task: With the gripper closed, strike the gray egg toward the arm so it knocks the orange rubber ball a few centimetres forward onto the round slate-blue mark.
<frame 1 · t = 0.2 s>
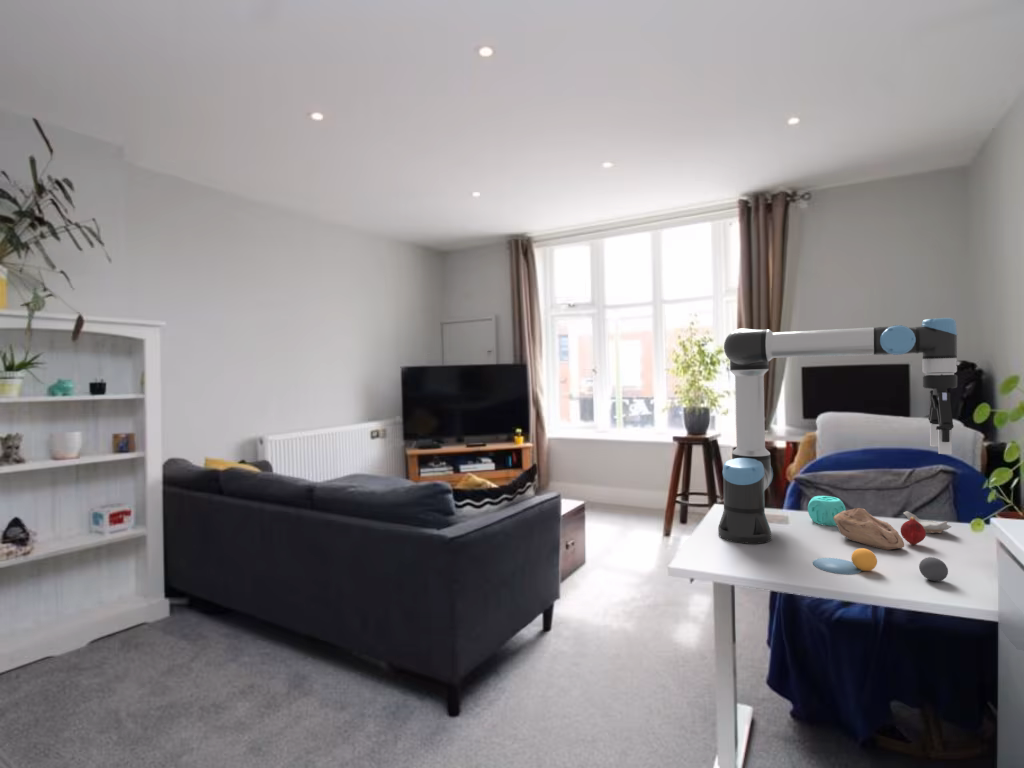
hand: (940, 450, 150), 28 cm above the table, fingers open, 13 cm apart
object ball: (864, 559, 137), on the table
rock: (868, 543, 158), on the table
gray egg: (933, 569, 130), on the table
decorative dice: (826, 523, 178), on the table
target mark: (836, 566, 141), on the table
onion: (913, 545, 154), on the table
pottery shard: (928, 531, 166), on the table
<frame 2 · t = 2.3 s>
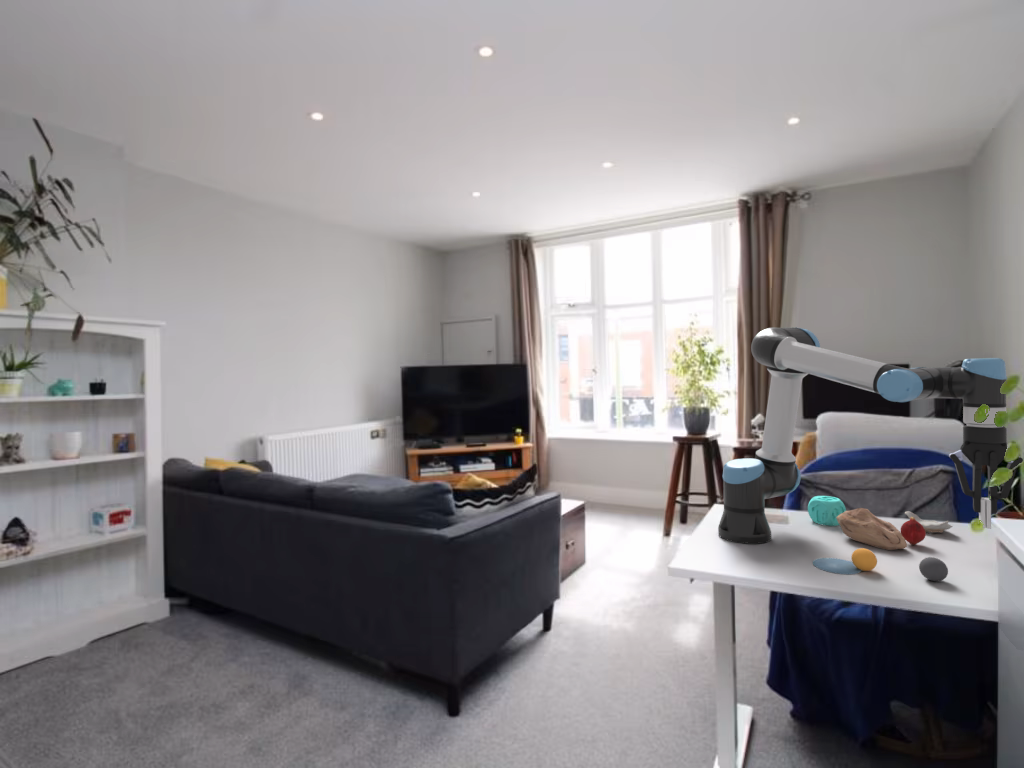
hand: (984, 526, 124), 14 cm above the table, fingers closed
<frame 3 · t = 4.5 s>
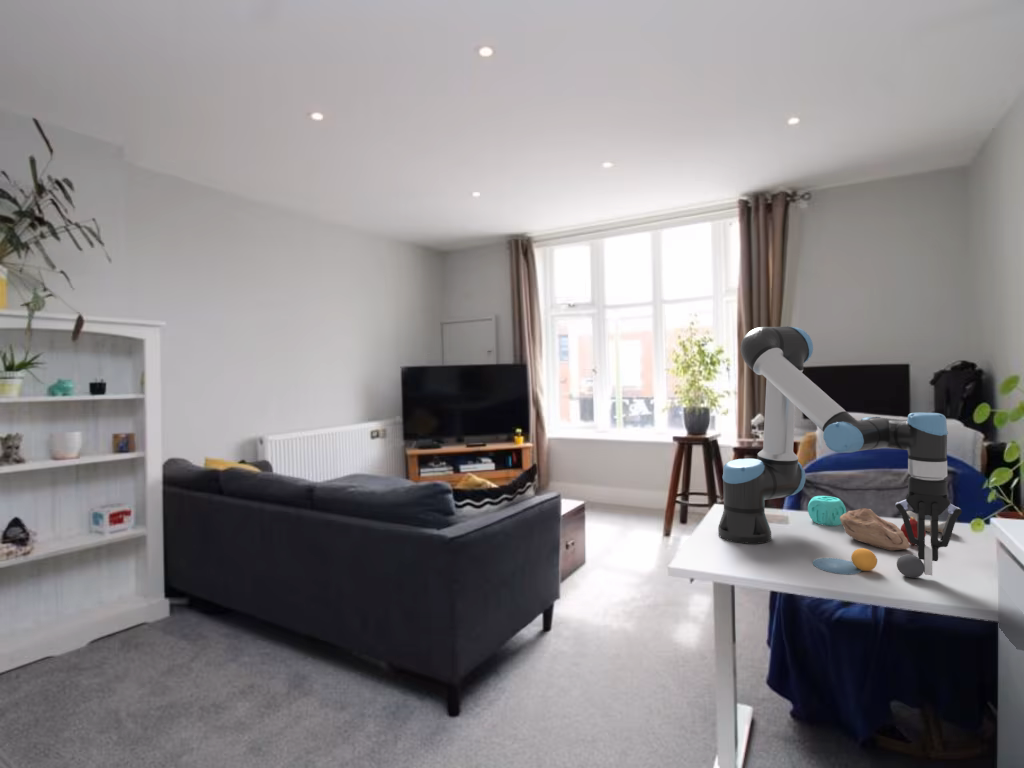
hand: (927, 572, 131), 1 cm above the table, fingers closed
gray egg: (910, 566, 132), on the table
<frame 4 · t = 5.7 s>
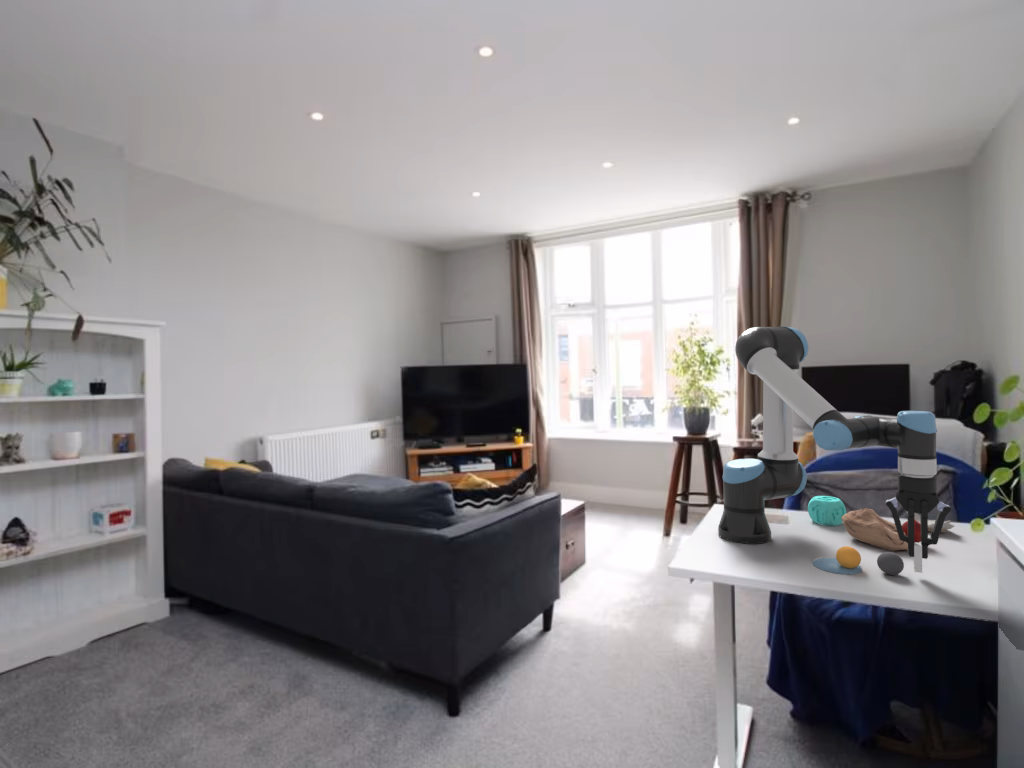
hand: (917, 570, 131), 2 cm above the table, fingers closed
object ball: (848, 557, 139), on the table
gray egg: (890, 563, 134), on the table
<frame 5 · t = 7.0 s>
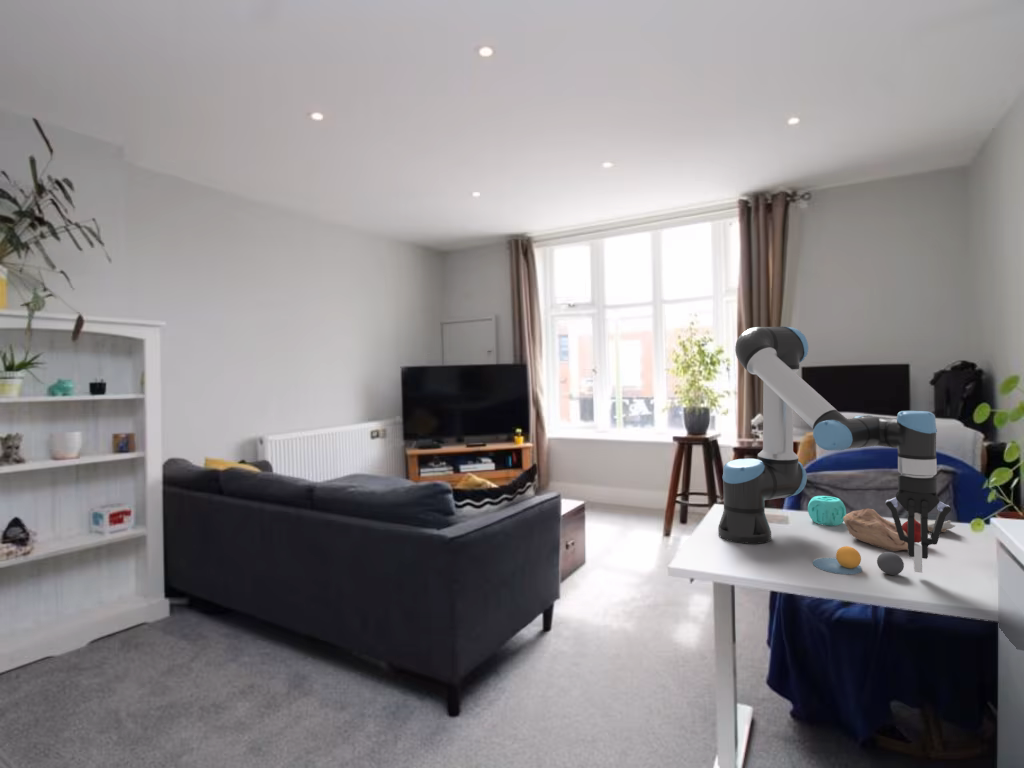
hand: (917, 570, 131), 2 cm above the table, fingers closed
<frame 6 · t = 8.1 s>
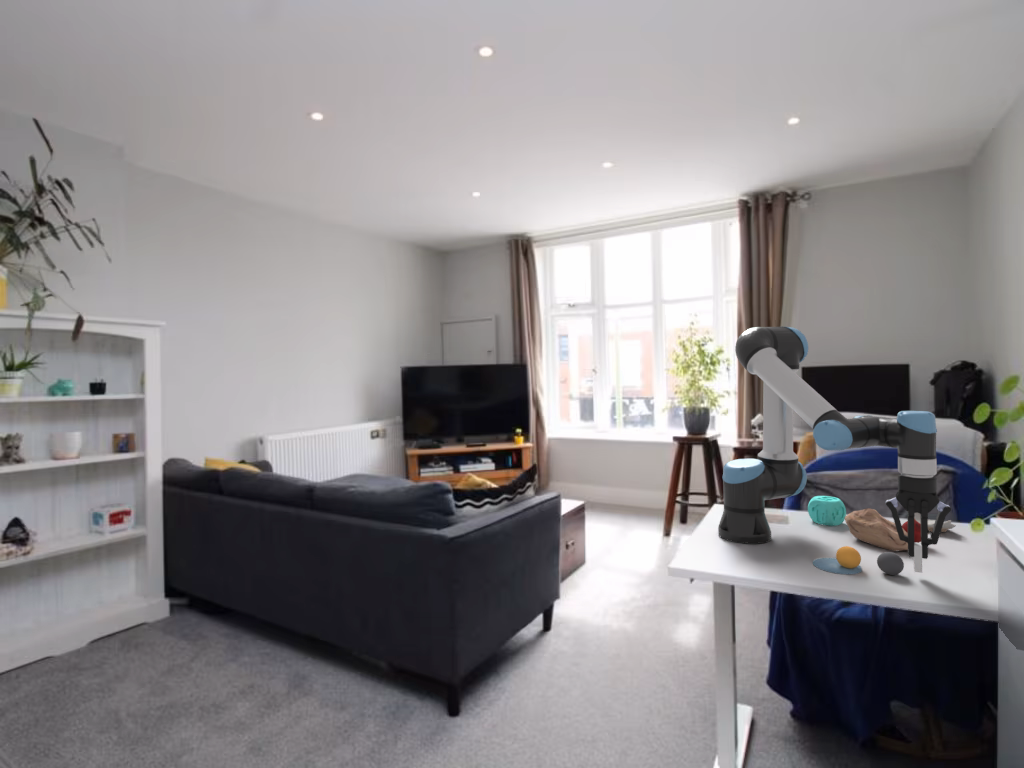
hand: (917, 570, 131), 2 cm above the table, fingers closed
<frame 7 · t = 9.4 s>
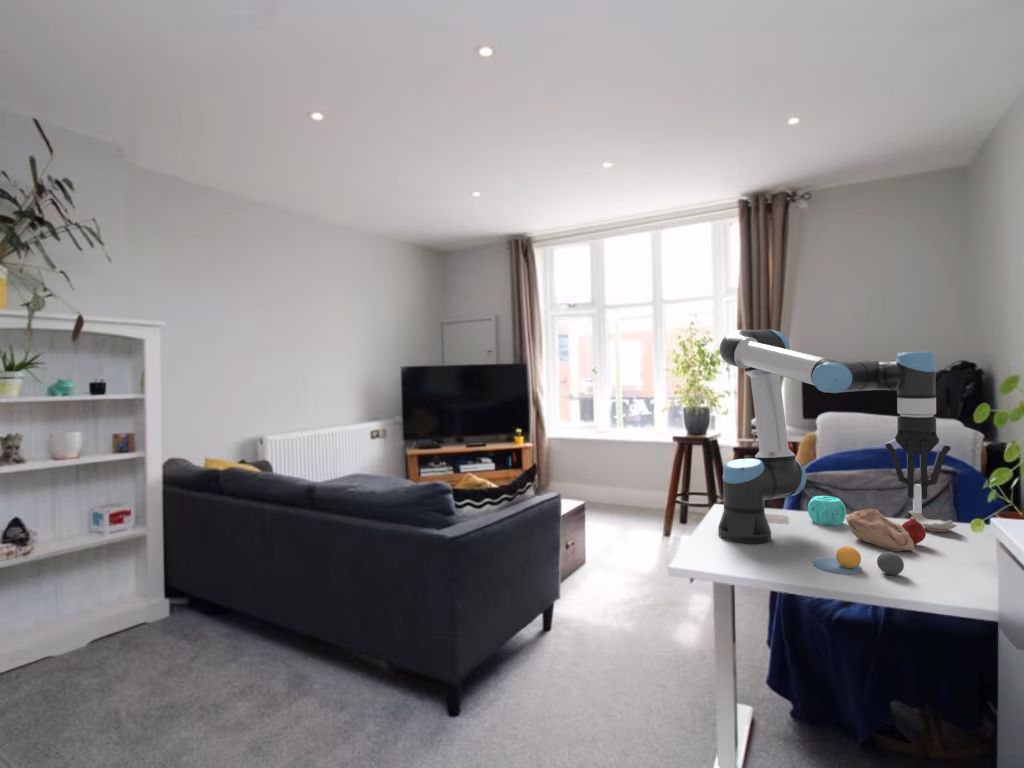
hand: (917, 511, 131), 16 cm above the table, fingers closed
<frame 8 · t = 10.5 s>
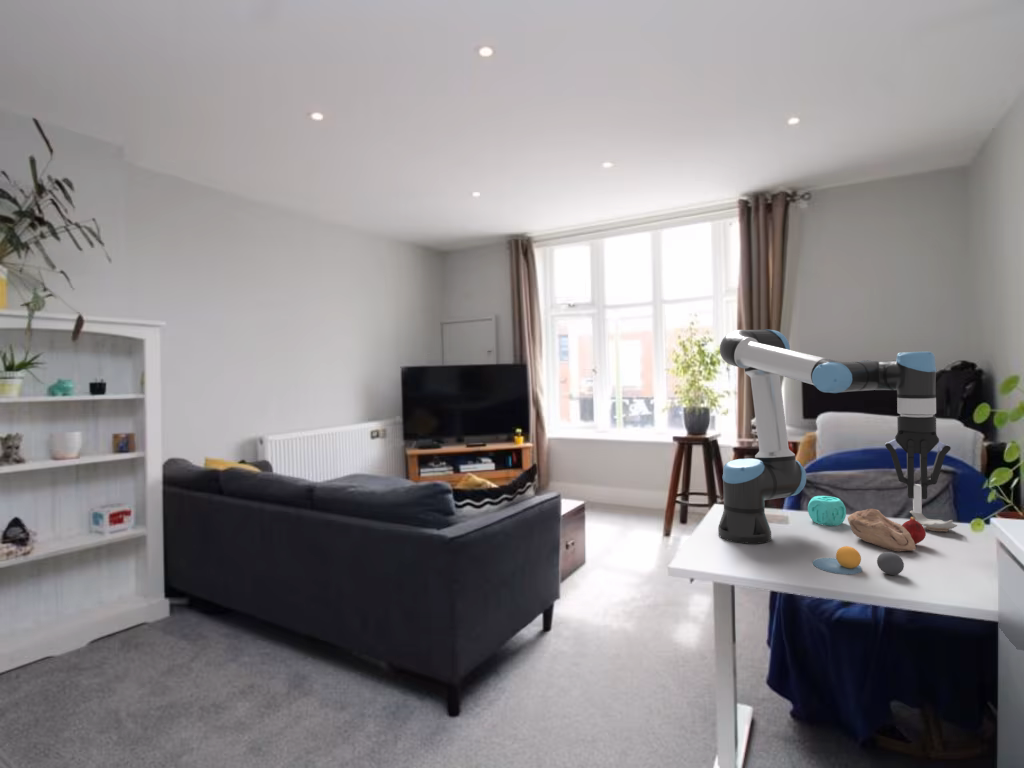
hand: (917, 511, 131), 16 cm above the table, fingers closed
at the end: object ball 2.6 cm from the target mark (horizontally); object ball never touched the robot; gray egg first touched object ball at 4.7 s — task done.
